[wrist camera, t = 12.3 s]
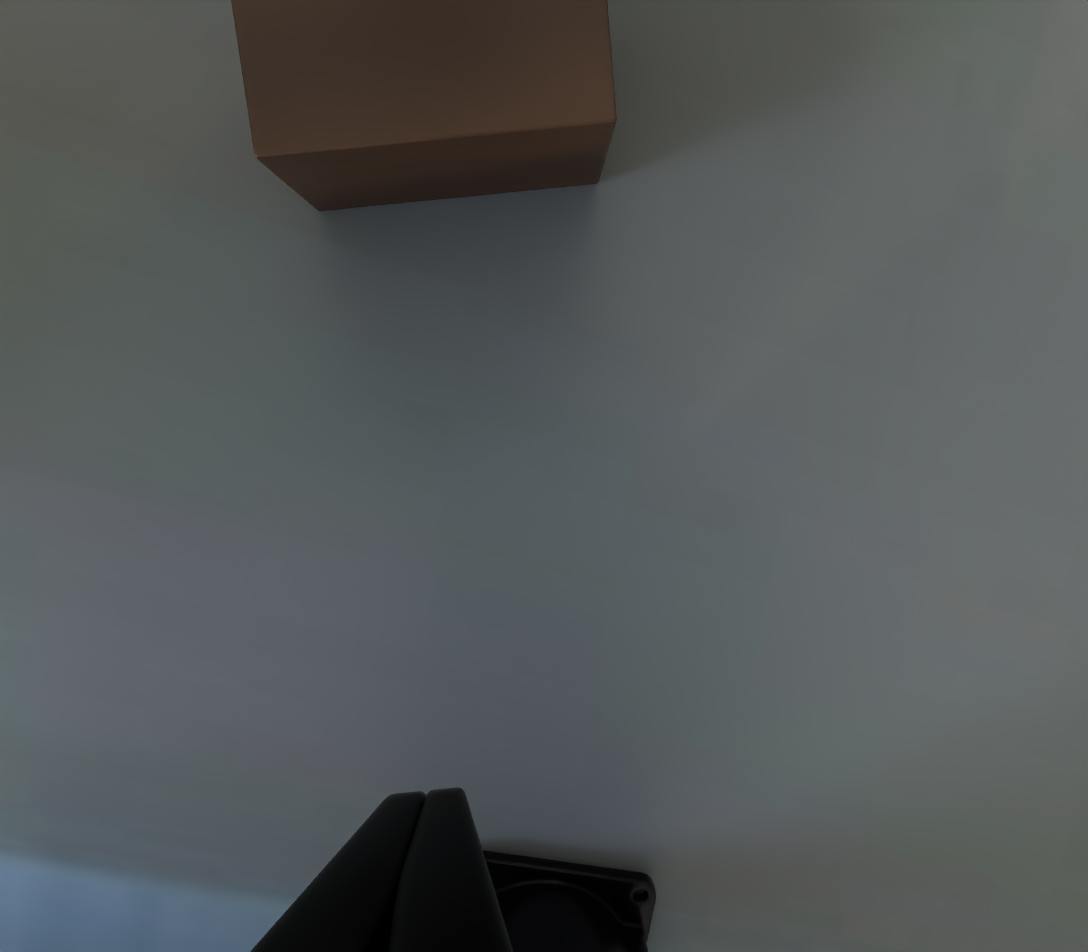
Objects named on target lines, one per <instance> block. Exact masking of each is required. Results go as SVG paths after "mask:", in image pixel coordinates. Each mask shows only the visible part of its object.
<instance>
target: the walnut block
mask: <svg viewBox="0 0 1088 952" xmlns="http://www.w3.org/2000/svg"><path fill="white" fill-rule="evenodd" d="M231 2H232V8H233V15H234V21H235V28H236V35H237V41H238V48H239V54H240V61H241V68H242V74H243V81H244V87H245V94H246V101H247V107H248V114H249V120H250V127H251V134H252V140H253V147H254V153H255V157H256V158H257V159H258V160H259V161H260V162H261V163H263V164H264V165H265V166H266V167H267V168H268V169H270V170H271V171H272V172H273V173H274V174H276V175H277V176H278V177H279V178H280V179H281V180H283V181H284V182H285V183H286V184H287V185H288V186H290V187H291V188H292V189H293V190H294V191H296V192H297V193H298V194H299V195H300V196H301V197H303V198H304V199H305V200H306V201H307V202H309V203H310V204H311V205H312V206H313V207H314V208H316V209H317V210H318V211H325V210H335V209H345V208H355V207H365V206H375V205H385V204H395V203H405V202H415V201H425V200H435V199H445V198H455V197H465V196H475V195H485V194H495V193H505V192H515V191H525V190H535V189H545V188H555V187H565V186H575V185H585V184H595V183H598V182H599V178H600V175H601V171H602V168H603V164H604V161H605V158H606V154H607V151H608V147H609V144H610V140H611V137H612V134H613V130H614V127H615V123H616V120H617V118H616V106H615V93H614V80H613V67H612V55H611V42H610V29H609V16H608V3H607V0H231Z"/></svg>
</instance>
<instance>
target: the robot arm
mask: <svg viewBox="0 0 1088 952" xmlns="http://www.w3.org/2000/svg"><path fill="white" fill-rule="evenodd" d="M638 889H643V890H645V891H644V892H642V893H634V892H635V891H636V890H638ZM655 900H656V892H655V888H654V884H653V881H652V879H651V878H650V877H649V876H648V875H647V874H644V873H640V872H633V871H625V870H618V869H611V868H604V867H597V866H590V865H583V864H576V863H569V862H561V861H554V860H547V859H540V858H533V857H526V856H519V855H512V854H504V853H497V852H490V851H483V850H482V847H481V844H480V841H479V838H478V834H477V831H476V828H475V824H474V821H473V818H472V815H471V811H470V808H469V805H468V801H467V798H466V795H465V792H464V790H463V789H461V788H448V789H438V790H432V791H430V792H429V793H428V794H427V795H426V794H425V793H423V792H421V791H418V792H407V793H397V794H392V795H390V796H388V797H387V798H386V799H385V800H384V801H383V802H382V803H381V804H380V805H379V807H378V808H377V809H376V810H375V811H374V812H373V813H372V814H371V816H370V817H369V818H368V819H367V820H366V821H365V822H364V824H363V825H362V826H361V827H360V828H359V829H358V830H357V831H356V833H355V834H354V835H353V836H352V837H351V838H350V839H349V841H348V842H347V843H346V844H345V845H344V846H343V847H342V848H341V850H340V851H339V852H338V853H337V854H336V855H335V856H334V858H333V859H332V860H331V861H330V862H329V863H328V864H327V865H326V867H325V868H324V869H323V870H322V871H321V872H320V873H319V875H318V876H317V877H316V878H315V879H314V880H313V881H312V882H311V884H310V885H309V886H308V887H307V888H306V889H305V890H304V892H303V893H302V894H301V895H300V896H299V897H298V898H297V899H296V901H295V902H294V903H293V904H292V905H291V906H290V907H289V908H288V910H287V911H286V912H285V913H284V914H283V915H282V916H281V918H280V919H279V920H278V921H277V922H276V923H275V924H274V925H273V927H272V928H271V929H270V930H269V931H268V932H267V933H266V935H265V936H264V937H263V938H262V939H261V940H260V941H259V942H258V944H257V945H256V946H255V947H254V948H253V949H252V950H251V952H648V949H647V944H646V943H647V938H648V934H649V929H650V924H651V919H652V914H653V910H654V905H655Z"/></svg>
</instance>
